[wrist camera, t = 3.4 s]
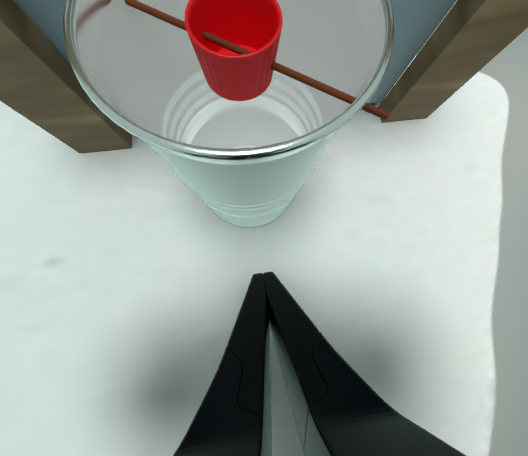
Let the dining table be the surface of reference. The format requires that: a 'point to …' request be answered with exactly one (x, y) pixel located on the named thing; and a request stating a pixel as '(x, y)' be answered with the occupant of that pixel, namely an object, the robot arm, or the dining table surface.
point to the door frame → (115, 137)
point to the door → (404, 45)
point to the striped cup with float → (232, 86)
